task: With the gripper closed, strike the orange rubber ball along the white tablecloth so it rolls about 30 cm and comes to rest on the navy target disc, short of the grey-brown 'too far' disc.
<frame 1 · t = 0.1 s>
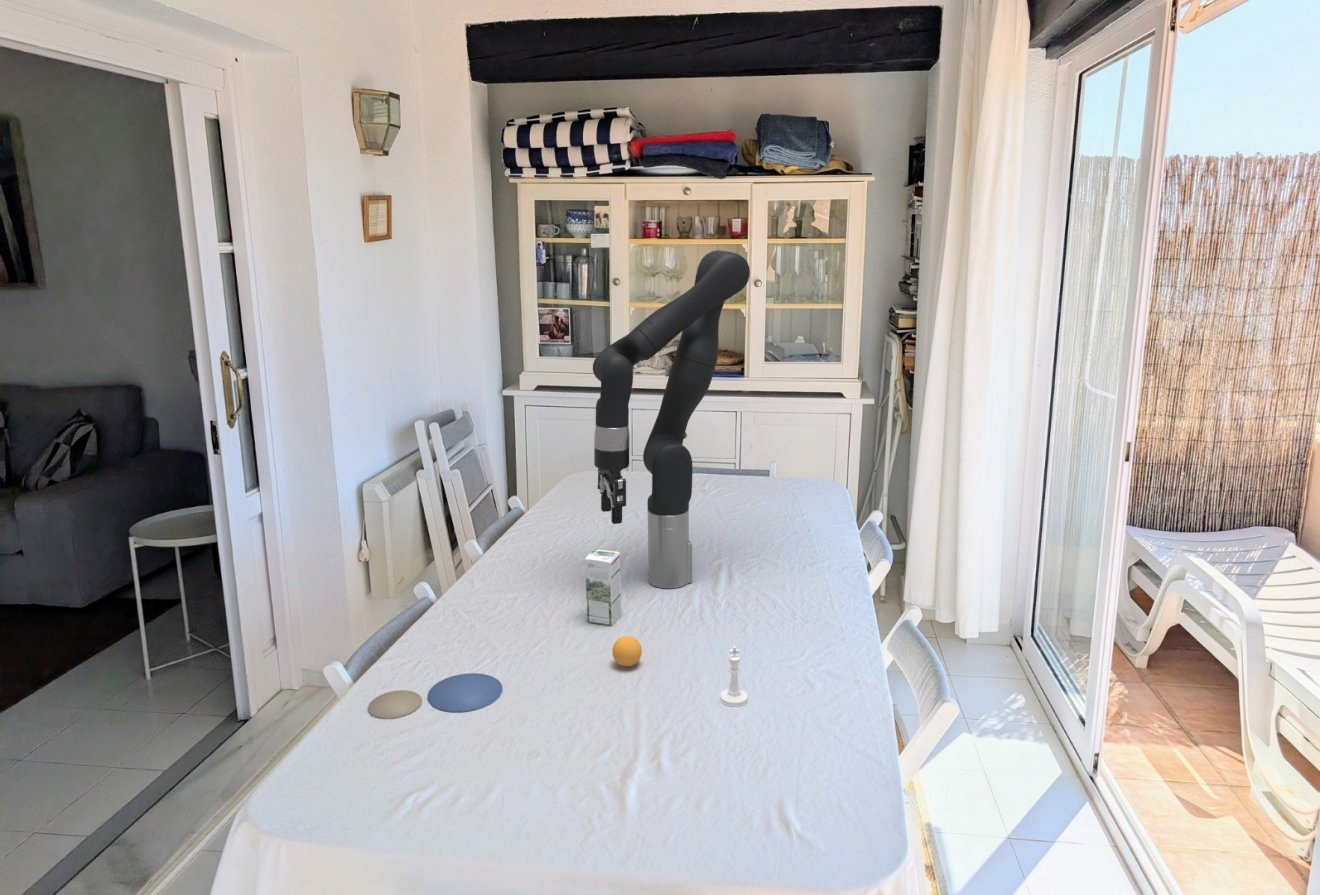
hand: (611, 517, 200), 17 cm above the table, tool pointing down, fingers open, 8 cm apart
ball: (627, 651, 171), on the table
syrup box: (604, 620, 190), on the table
target disc: (465, 692, 162), on the table
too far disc: (395, 704, 159), on the table
chess piece: (734, 700, 159), on the table
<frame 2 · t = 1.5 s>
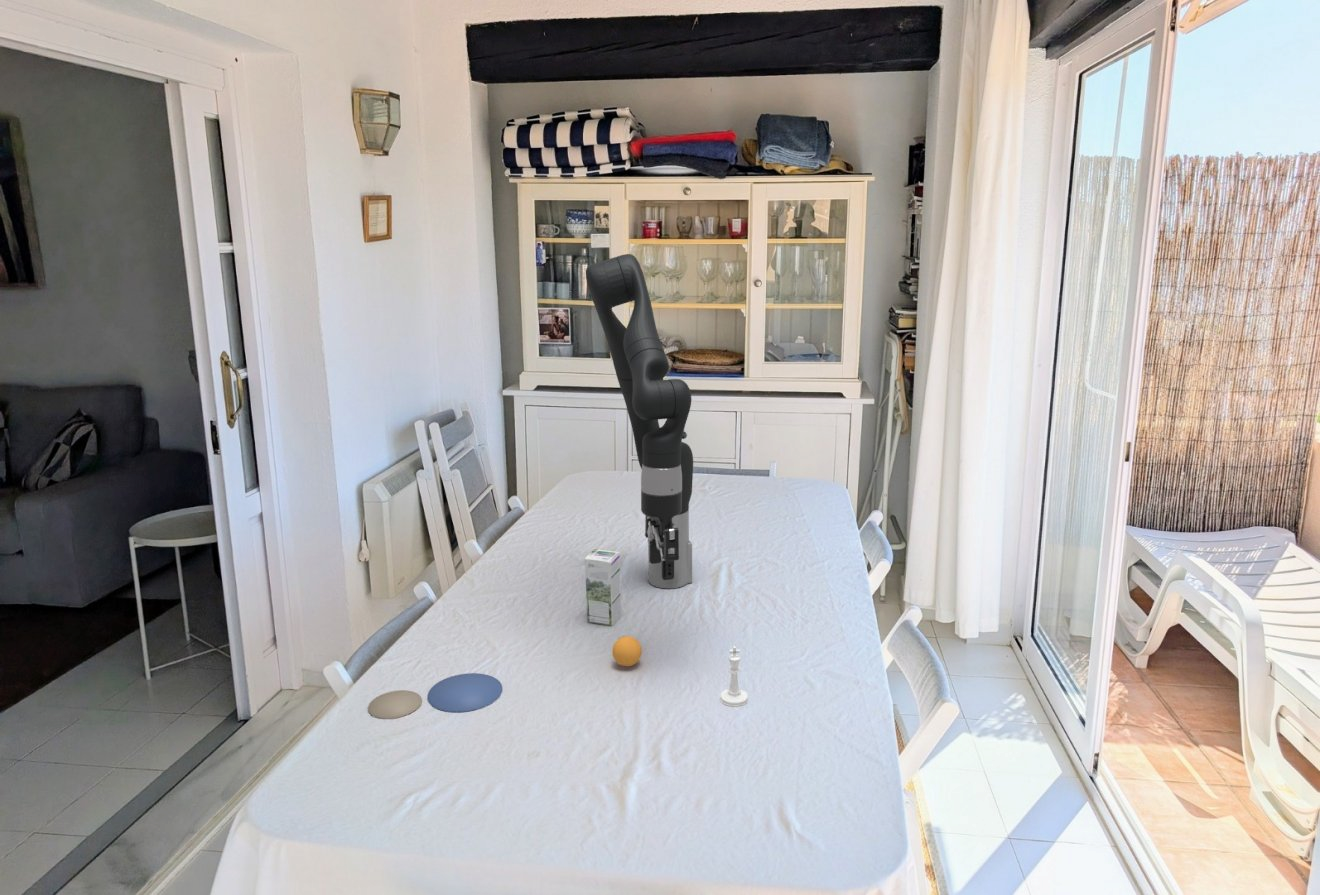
hand: (661, 570, 171), 17 cm above the table, tool pointing down, fingers open, 8 cm apart
nothing on the table moved.
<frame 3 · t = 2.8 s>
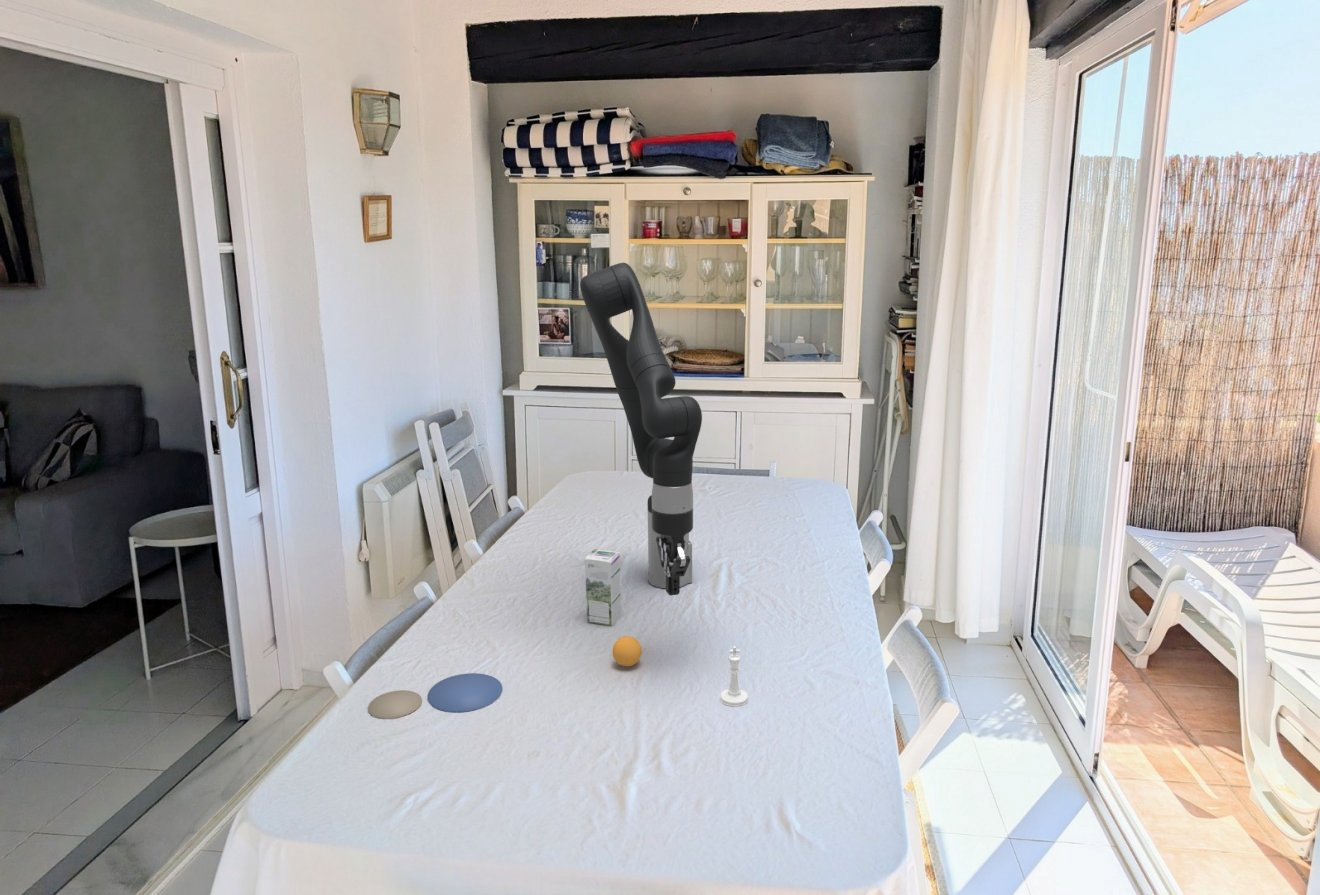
hand: (672, 593, 171), 13 cm above the table, tool pointing down, fingers closed
nothing on the table moved.
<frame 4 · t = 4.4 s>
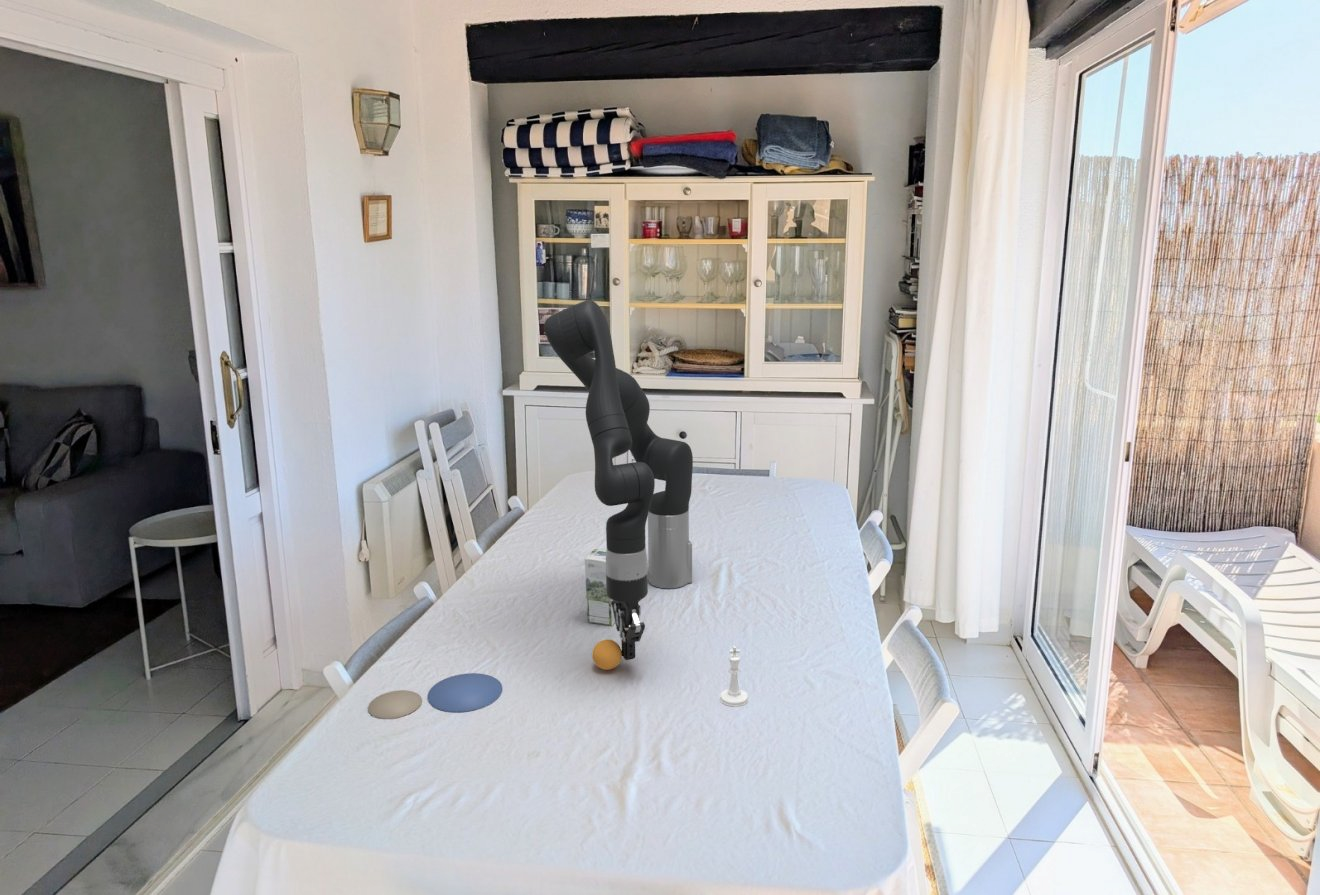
hand: (628, 657, 170), 2 cm above the table, tool pointing down, fingers closed
ball: (607, 654, 169), on the table
everything else where it was.
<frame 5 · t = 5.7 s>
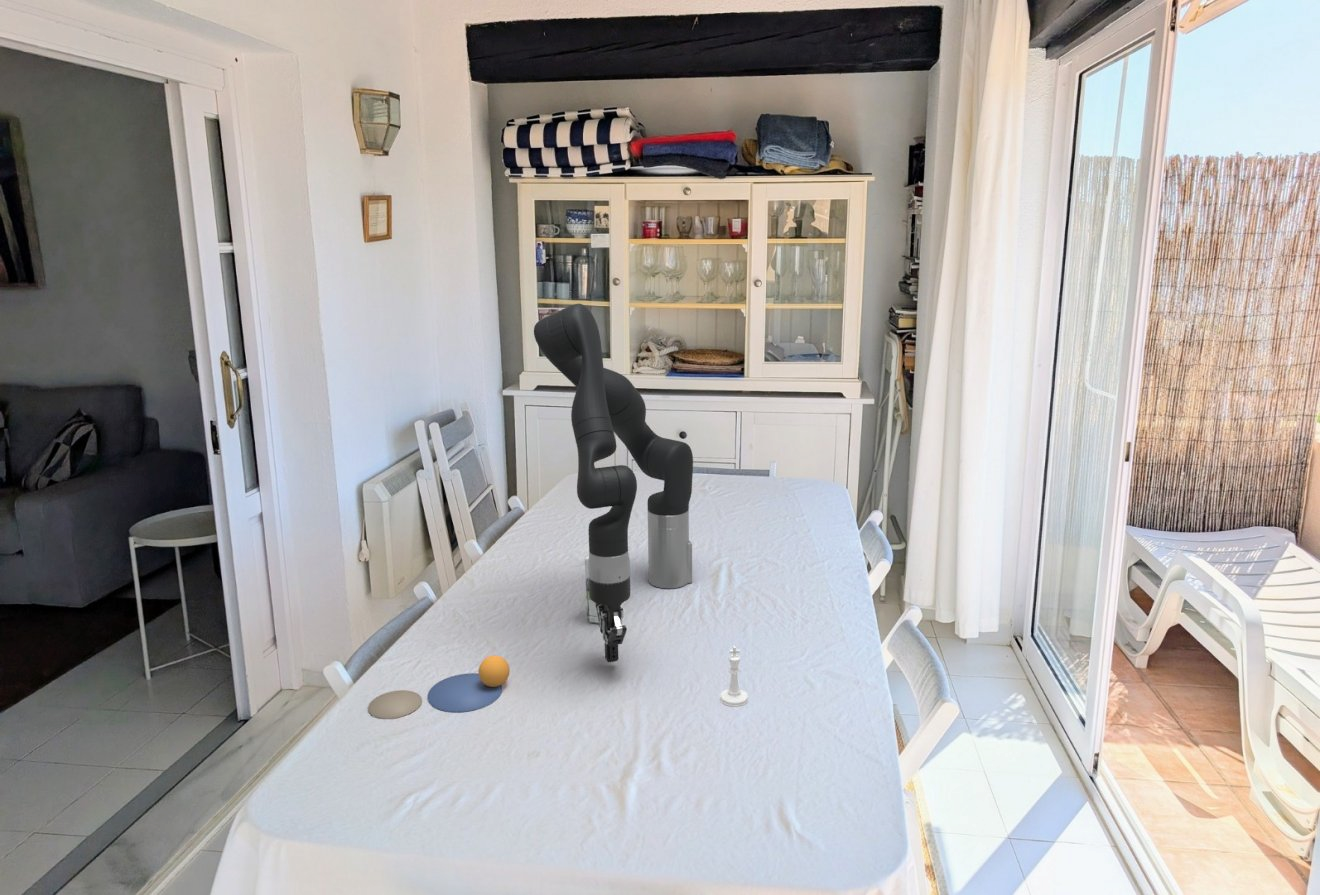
hand: (611, 659, 170), 2 cm above the table, tool pointing down, fingers closed
ball: (494, 671, 164), on the table
everything else where it was.
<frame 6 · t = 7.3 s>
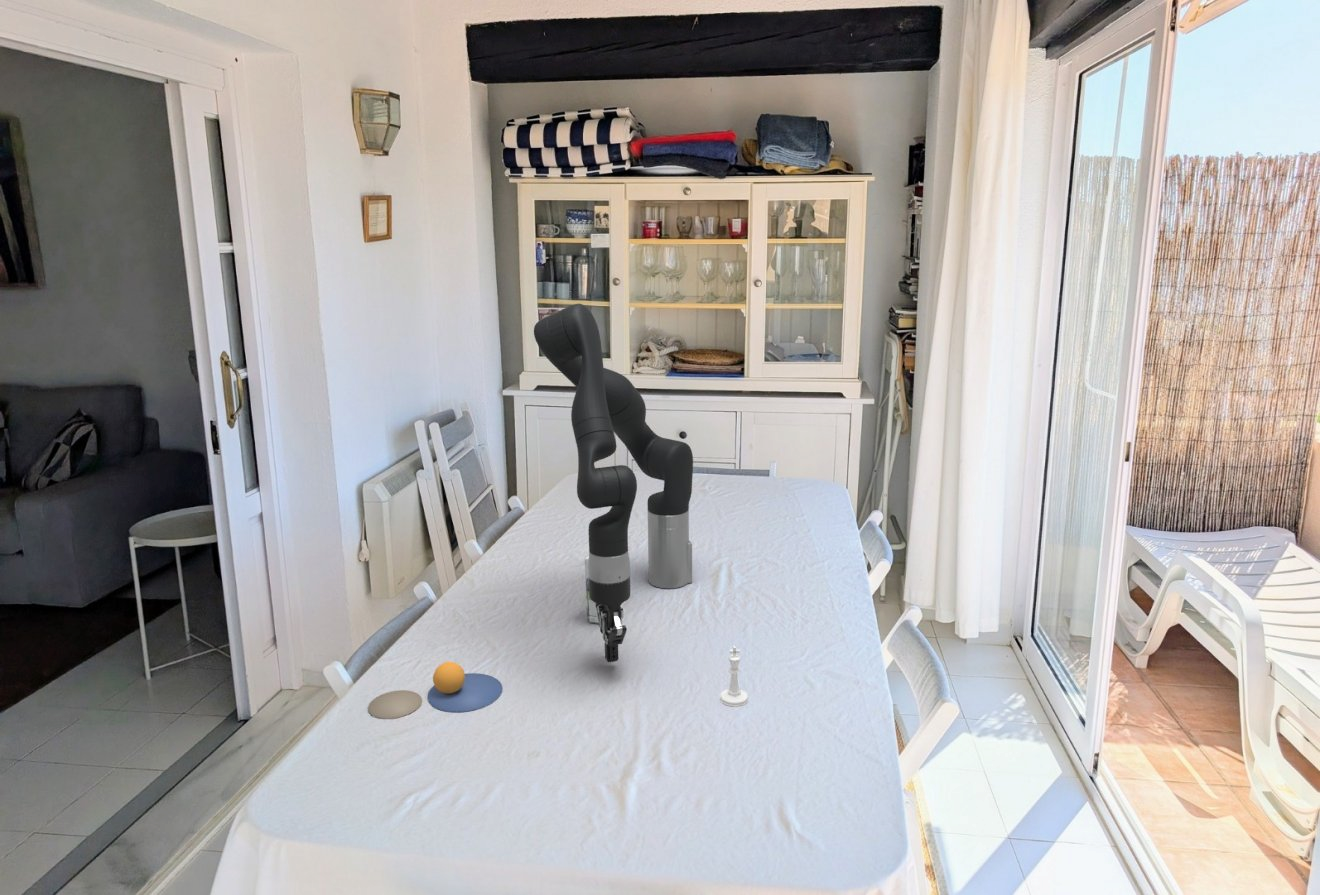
hand: (611, 659, 170), 2 cm above the table, tool pointing down, fingers closed
ball: (449, 677, 162), on the table
everything else where it was.
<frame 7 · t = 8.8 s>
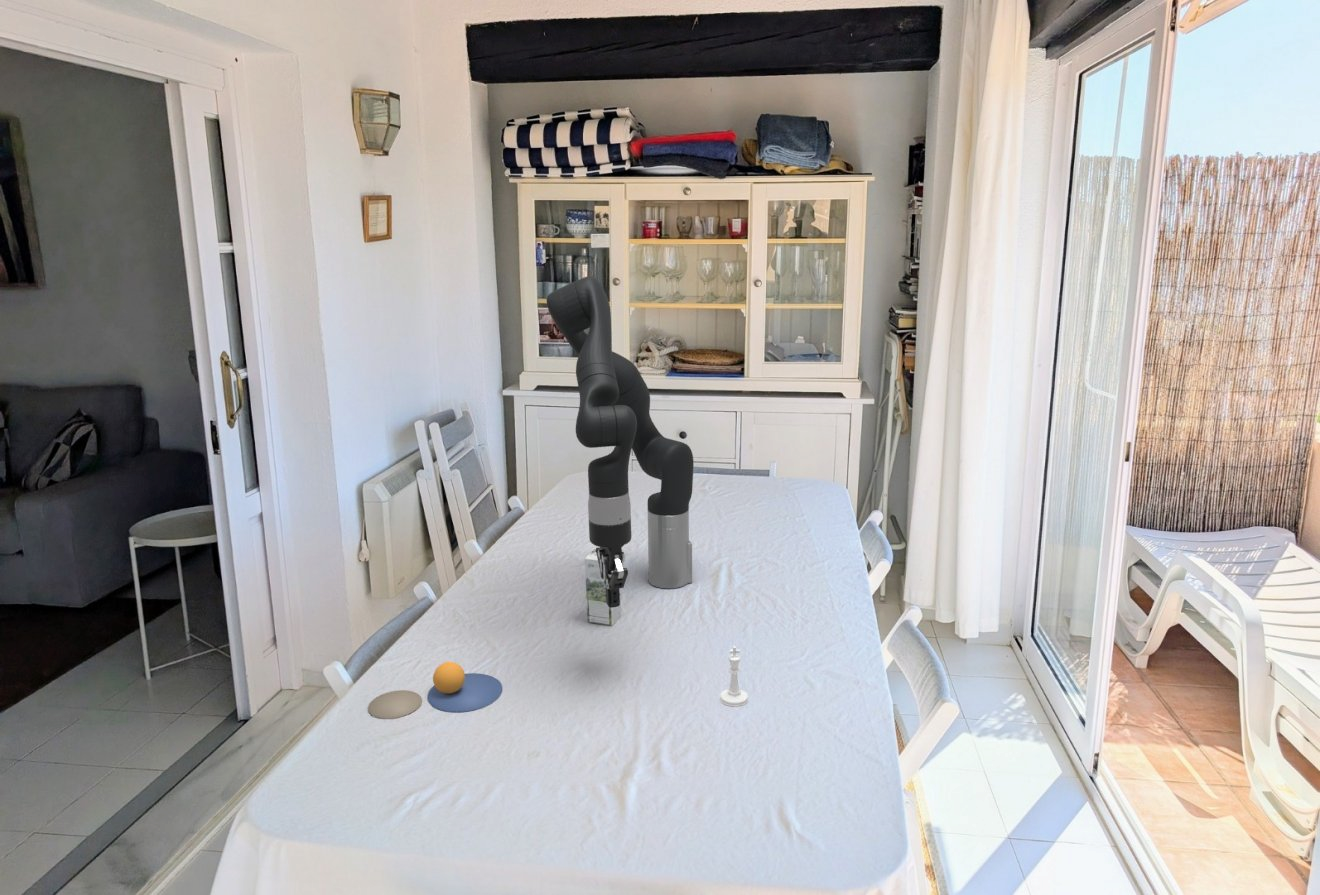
hand: (613, 605, 167), 13 cm above the table, tool pointing down, fingers closed
nothing on the table moved.
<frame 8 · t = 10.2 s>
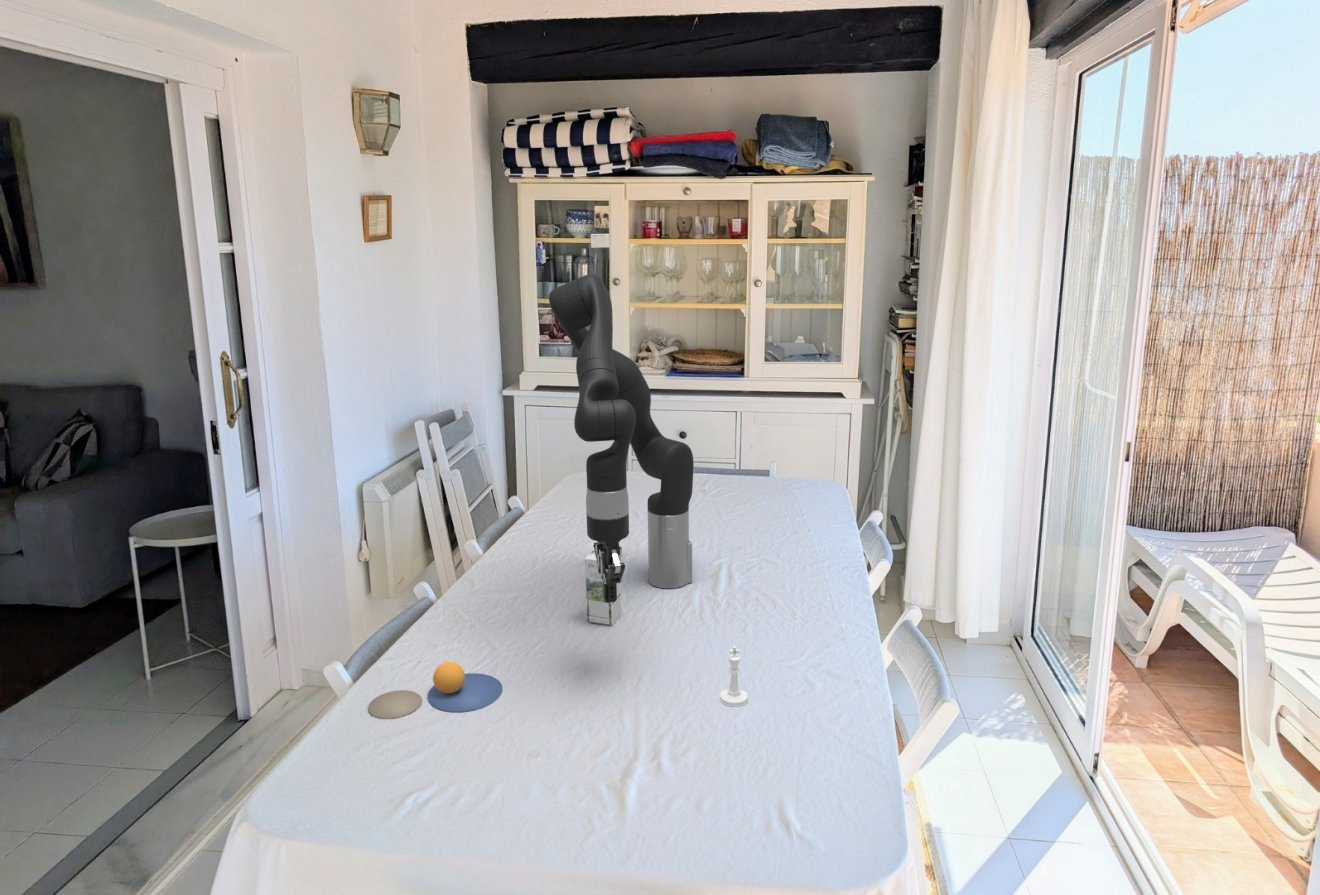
hand: (610, 600, 167), 14 cm above the table, tool pointing down, fingers closed
nothing on the table moved.
at the end: ball 2.8 cm from the target disc (horizontally); ball at rest at the end (0.0 cm/s); ball moved 32.5 cm from its start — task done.
